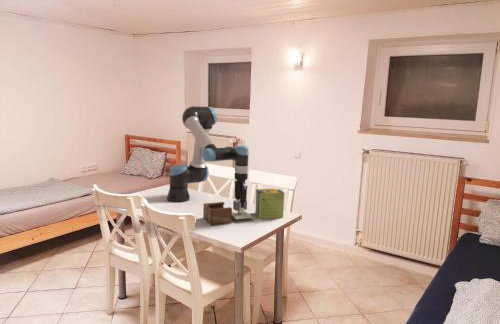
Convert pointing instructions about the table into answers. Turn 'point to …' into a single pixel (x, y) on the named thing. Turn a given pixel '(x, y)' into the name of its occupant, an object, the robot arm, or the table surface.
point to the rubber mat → (242, 220)
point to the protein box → (269, 203)
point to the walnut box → (217, 213)
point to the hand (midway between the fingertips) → (239, 211)
